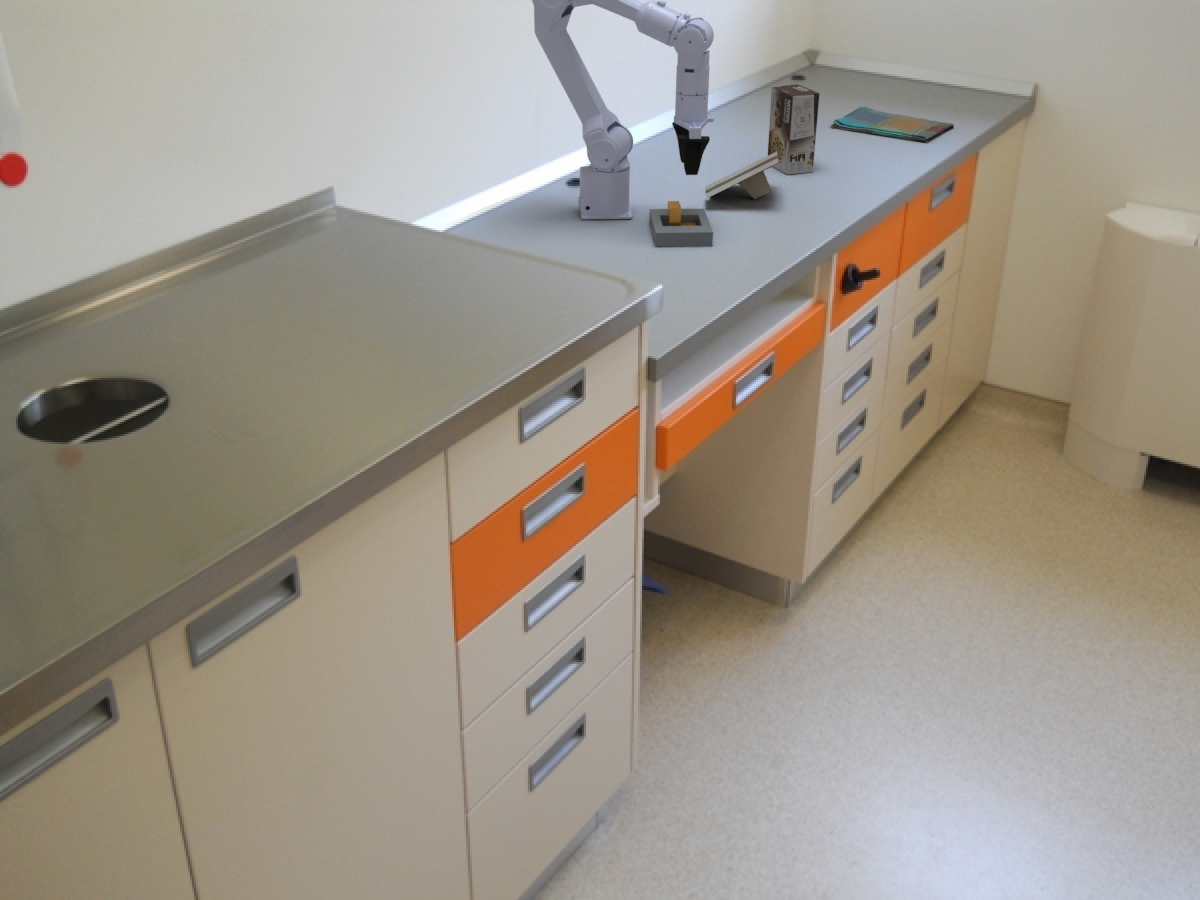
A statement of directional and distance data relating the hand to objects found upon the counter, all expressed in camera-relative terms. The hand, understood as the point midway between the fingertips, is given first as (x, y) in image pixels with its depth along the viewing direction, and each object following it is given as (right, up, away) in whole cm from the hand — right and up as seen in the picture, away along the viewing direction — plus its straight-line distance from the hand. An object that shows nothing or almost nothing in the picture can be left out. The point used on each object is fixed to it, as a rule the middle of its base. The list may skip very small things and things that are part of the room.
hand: (689, 168), depth 230 cm
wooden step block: (-1, -12, -1) cm, 12 cm away
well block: (-2, -12, -1) cm, 12 cm away
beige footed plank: (+11, -2, +17) cm, 21 cm away
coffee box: (+23, +8, +35) cm, 43 cm away
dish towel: (+51, +23, +63) cm, 85 cm away
